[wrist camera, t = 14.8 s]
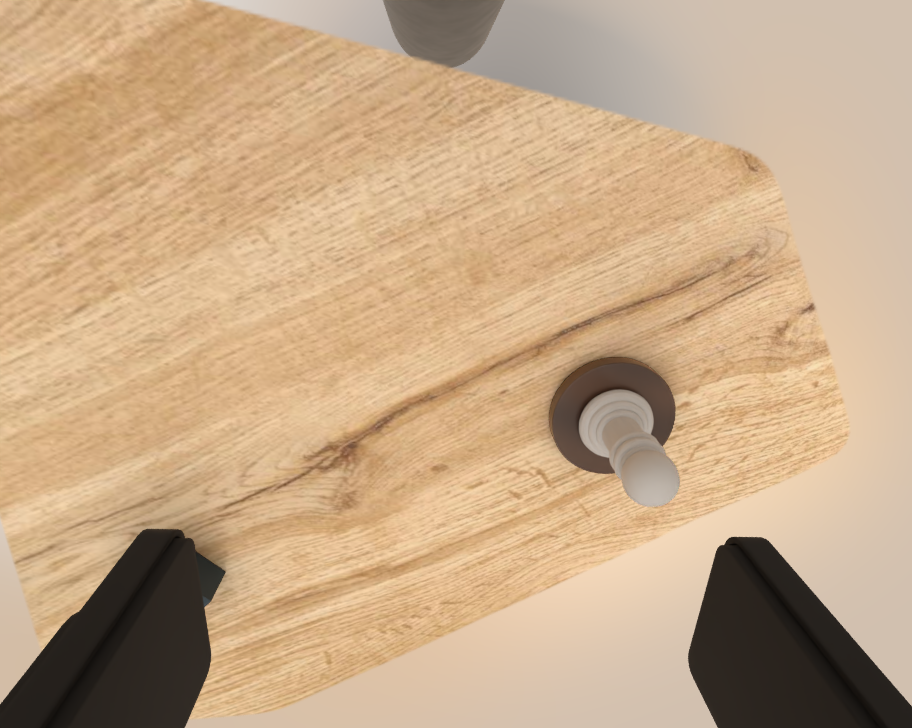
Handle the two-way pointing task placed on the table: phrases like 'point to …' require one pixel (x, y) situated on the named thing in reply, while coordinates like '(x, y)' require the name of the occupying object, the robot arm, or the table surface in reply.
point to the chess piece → (630, 446)
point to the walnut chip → (596, 382)
